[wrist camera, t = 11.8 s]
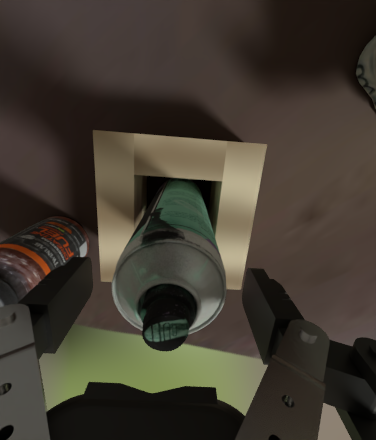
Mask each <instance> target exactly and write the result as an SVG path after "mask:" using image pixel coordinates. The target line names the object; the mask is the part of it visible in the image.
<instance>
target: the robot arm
mask: <svg viewBox="0 0 376 440" xmlns="http://www.w3.org/2000/svg"><path fill="white" fill-rule="evenodd" d="M92 288H93V279H92V265H91V259H90V258H89V257H72V258H71V259H70V260H69V261H68V262H67V263H66V264H65V265H64V266H59V267H58V268H56V269H54V270H52V271H50V272H49V273H48V274H47V275H46V276H45V277H44V279H42V280H41V281H40V282H39V283H38V285H36V286H35V287H34V288H33V289H32V290H30V291H29V292H28V293H27V294H26V295H25V296H24V297H23V298H22V299H21V300H20V301H19V302H18V303H17V304H10V305H6V306H3V307H0V440H317V439H318V432H319V425H320V419H321V413H322V407H323V403H326V404H328V405H331V406H334V407H335V408H336V410H337V412H338V414H339V415H340V418H341V420H342V421H343V423H344V425H345V427H346V429H347V431H348V433H349V435H350V437H351V439H352V440H376V340H373V339H370V338H357V339H356V340H355V342H354V344H353V347H352V346H348V345H345V344H342V343H338V342H335V341H332V340H329V338H328V336H327V334H326V333H325V332H324V331H323V330H322V329H321V328H320V327H318V326H317V325H315V324H313V323H311V322H309V321H306V320H305V319H304V318H303V316H302V315H301V313H300V312H299V311H298V309H297V308H296V306H295V305H294V303H293V302H292V300H291V299H290V297H289V296H288V294H287V293H286V291H285V290H284V288H283V287H282V285H280V284H279V283H278V282H277V281H275V280H274V279H269V277H268V275H267V274H266V272H265V270H264V269H257V268H248V269H247V272H246V277H245V282H244V288H243V293H242V303H243V307H244V310H245V313H246V315H247V318H248V321H249V324H250V327H251V330H252V333H253V335H254V338H255V341H256V344H257V347H258V350H259V352H260V355H261V358H262V361H263V364H264V365H268V367H267V369H266V371H265V374H264V376H263V378H262V380H261V382H260V385H259V387H258V389H257V392H256V394H255V396H254V398H253V400H252V403H251V405H250V407H249V409H248V411H247V414H246V416H244V415H243V414H242V413H241V412H239V411H238V410H237V409H235V408H234V407H232V406H231V405H229V404H227V403H225V402H223V401H220V400H217V394H216V388H212V387H190V386H184V387H180V388H175V389H171V390H167V391H162V392H158V393H148V392H145V391H141V390H138V389H136V388H133V387H130V386H127V385H124V384H121V383H101V382H89V383H88V385H87V388H86V391H85V393H84V394H82V395H78V396H76V397H73V398H70V399H68V400H66V401H64V402H62V403H60V404H58V405H56V406H55V407H53V408H51V409H50V410H49V411H47V406H46V400H45V395H44V389H43V383H42V377H41V371H40V365H39V359H40V357H41V356H42V354H43V353H55V352H56V351H57V349H58V348H59V346H60V344H61V343H62V341H63V340H64V338H65V336H66V335H67V333H68V331H69V330H70V328H71V326H72V325H73V323H74V322H75V320H76V318H77V317H78V315H79V314H80V312H81V310H82V309H83V307H84V306H85V304H86V302H87V301H88V299H89V297H90V295H91V293H92Z"/></svg>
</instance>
